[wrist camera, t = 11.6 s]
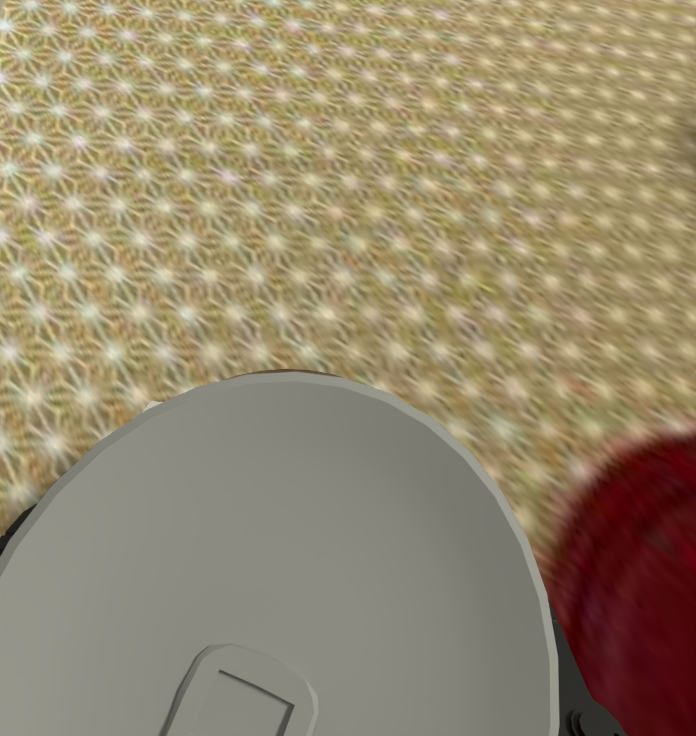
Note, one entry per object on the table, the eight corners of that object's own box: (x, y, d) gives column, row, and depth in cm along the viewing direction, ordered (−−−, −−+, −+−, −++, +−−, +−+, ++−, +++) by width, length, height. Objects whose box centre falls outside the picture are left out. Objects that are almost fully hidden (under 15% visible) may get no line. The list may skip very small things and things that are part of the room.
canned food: (144, 689, 14) (-235, 1127, 4) (204, 441, 17) (68, 323, 7) (379, 718, 15) (577, 1172, 5) (403, 473, 18) (564, 408, 7)
